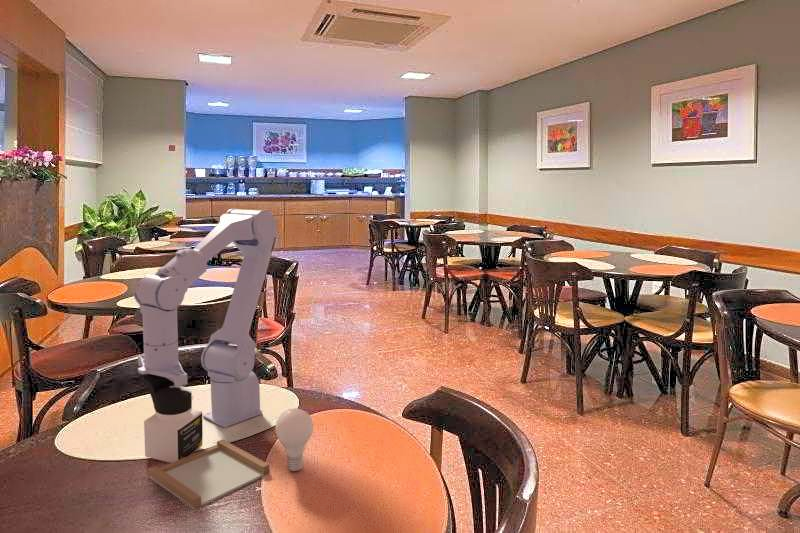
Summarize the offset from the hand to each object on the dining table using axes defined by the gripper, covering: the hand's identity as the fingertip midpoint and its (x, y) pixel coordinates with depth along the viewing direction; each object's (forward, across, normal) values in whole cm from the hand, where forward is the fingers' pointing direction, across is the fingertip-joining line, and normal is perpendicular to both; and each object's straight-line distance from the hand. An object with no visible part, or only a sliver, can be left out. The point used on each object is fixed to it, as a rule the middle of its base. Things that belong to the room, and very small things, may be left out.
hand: (163, 411), depth 103 cm
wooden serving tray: (+6, +16, 0) cm, 17 cm away
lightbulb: (+6, +25, +11) cm, 28 cm away
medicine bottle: (+7, +4, 0) cm, 8 cm away
